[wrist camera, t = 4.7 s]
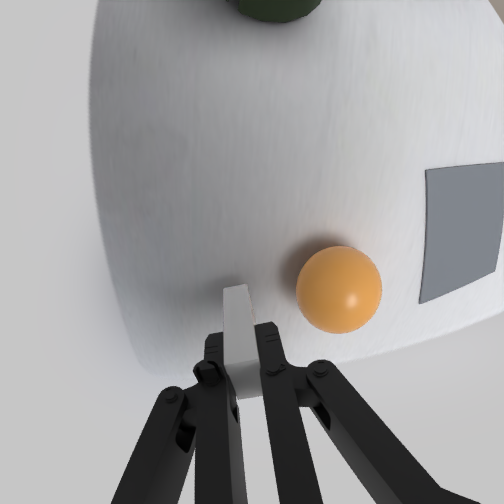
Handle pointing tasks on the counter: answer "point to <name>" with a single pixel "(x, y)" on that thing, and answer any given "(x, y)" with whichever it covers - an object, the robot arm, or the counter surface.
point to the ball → (338, 289)
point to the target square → (461, 226)
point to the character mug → (277, 9)
